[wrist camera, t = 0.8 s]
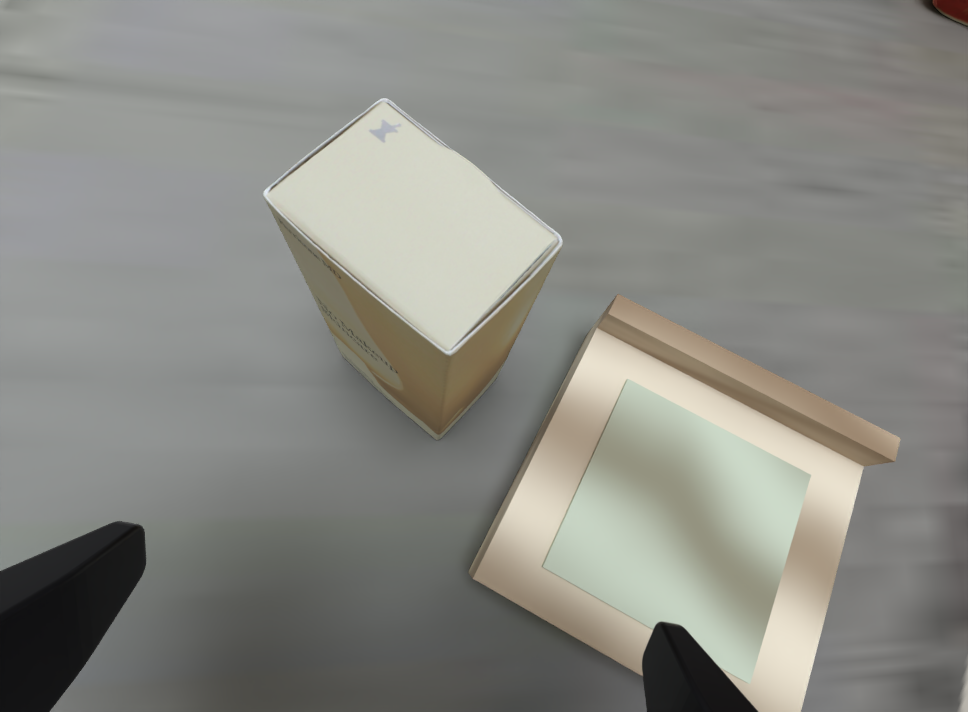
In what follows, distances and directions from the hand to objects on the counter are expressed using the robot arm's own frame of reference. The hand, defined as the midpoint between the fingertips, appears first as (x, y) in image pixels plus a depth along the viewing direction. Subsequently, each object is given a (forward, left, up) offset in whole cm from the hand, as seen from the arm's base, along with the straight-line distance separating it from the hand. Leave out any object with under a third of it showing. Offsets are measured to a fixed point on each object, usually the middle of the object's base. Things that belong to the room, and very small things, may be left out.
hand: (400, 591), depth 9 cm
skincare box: (+6, +5, -13) cm, 15 cm away
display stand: (+7, -7, -13) cm, 16 cm away
